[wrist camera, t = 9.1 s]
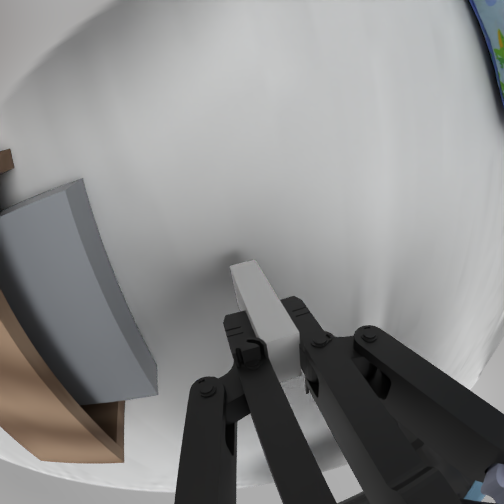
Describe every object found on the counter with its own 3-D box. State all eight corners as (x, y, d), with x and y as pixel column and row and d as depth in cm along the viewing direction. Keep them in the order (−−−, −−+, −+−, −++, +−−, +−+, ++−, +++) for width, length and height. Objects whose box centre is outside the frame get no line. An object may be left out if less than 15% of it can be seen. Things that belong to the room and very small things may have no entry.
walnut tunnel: (125, 399, 22) (124, 462, 16) (50, 406, 20) (40, 460, 14) (10, 148, 12) (-58, 169, 6) (-65, 196, 10) (-119, 229, 4)
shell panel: (156, 361, 21) (157, 396, 18) (43, 379, 19) (35, 409, 16) (84, 176, 14) (63, 190, 11) (-39, 231, 12) (-66, 252, 9)
